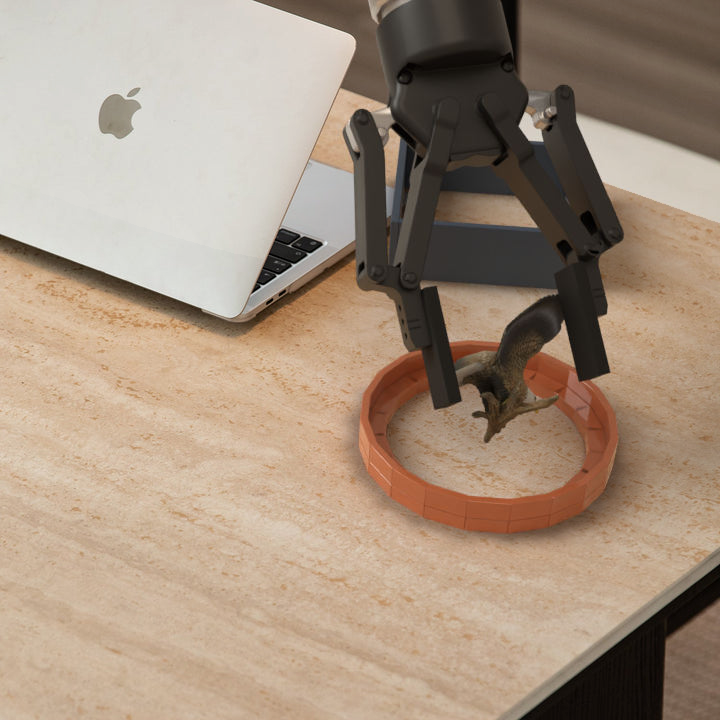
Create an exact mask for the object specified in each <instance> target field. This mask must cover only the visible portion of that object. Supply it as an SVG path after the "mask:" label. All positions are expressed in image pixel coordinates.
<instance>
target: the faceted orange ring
mask: <svg viewBox="0 0 720 720" xmlns="http://www.w3.org/2000/svg"><path fill="white" fill-rule="evenodd" d="M500 343H501V341H489V340H488V341H487V340H475V339H474V340H473V339H470V340H469V339H468V340H467V339H466V340H458V341H449V344H450V348H451V353H452V357H453V362H454V364H455V362H456V361H457V360H458V359H460V358H463V357H465V356H468V355H471V354H475V353H478V352H481V351H496V352H497V350H498V348H499V345H500ZM523 376H524V381H525V384H526V385H527V387H528V388H529V389H530V390H531V391H532V392H533V394H534V395H535V396H536V397H538V398H540V399H544V398H549V397H552V396H554V395H558V396H559V399H558V400H557V401H556V402H555V403H554V404H553V406H555V407H556V408H557V409H558V410H559V411H560V412H562V413H563V414H564V415H565V416H566V417H567V418H568V419H570V420H571V421H572V422H573V424H574V426H575V428H576V429H577V431H578V432H579V434H580V436H581V437H582V440H583V442H584V449H585V458H584V460H583V464H582V466H581V468H580V469H579V471H578V472H577V473H575V475H573V476H572V477H571V478H570V479H569V480H568V481H567V482H566V483H565V484H564V485H562V486H560V487H558V488H555V489H554V490H551V491H548V492H546V493H540V494H533V495H526V496H520V497H514V498H513V497H512V498H506V497H494V496H493V497H492V496H479V495H469V494H465V493H461V492H459V491H455V490H452V489H449V488H445V487H442V486H438V485H434V484H433V483H429V482H427V481H426V480H424V479H423V478H422V477H419V476H418V475H416V474H414V473H412V472H410V471H409V470H408V469H406V468H405V466H403V464H402V463H401V462H400V461H399V460H398V459H397V458H396V457H395V456H394V453H393V451H392V449H391V446H390V443H389V441H388V438H387V429H388V428H387V427H388V425H389V424H390V422H391V420H392V418H393V417H394V416H395V413H396V412H397V410H398V409H399V408H400V407H402V406H403V405H404V404H406V403H407V402H408V401H410V400H411V399H413V397H415V396H418V395H419V394H421V393H424V392H427V391H430V388H429V383H428V379H427V374H426V370H425V365H424V360H423V356H422V351H421V350H420V351H414V352H406V353H404V354H402V355H400V356H399V357H397V358H396V359H395V360H393V361H392V362H390V363H389V364H387V365H385V366H384V367H383V368H382V369H380V370H378V371H377V372H376V374H375V375H374V376H373V379H372V380H371V381H370V383H369V384H368V386H367V387H366V389H365V390H364V392H363V393H362V398H361V408H360V415H359V433H358V449H359V451H360V454H361V457H362V460H363V462H364V465H365V468H366V470H367V473H368V475H369V476H370V477H371V478H372V479H373V480H374V482H375V483H376V484H377V485H378V486H379V487H380V488H381V489H382V490H383V491H384V493H385V494H386V495H387V496H388V497H389V498H390V499H391V500H393V501H395V502H397V503H399V504H400V505H401V506H403V507H405V508H406V509H408V510H409V511H412V512H413V513H414V514H416V515H419V516H420V517H421V518H424V519H427V520H430V521H433V522H437V523H440V524H443V525H446V526H449V527H453V528H455V529H459V530H463V531H469V532H484V533H495V534H496V533H497V534H515V533H521V532H526V531H528V532H529V531H533V530H540V529H547V528H550V527H552V526H554V525H557V524H559V523H561V522H564V521H566V520H569V519H570V518H573V517H575V516H577V515H579V514H582V513H583V512H584V511H585V510H586V509H587V508H588V507H589V506H590V505H591V504H592V503H593V502H595V500H596V499H598V498H599V497H600V496H601V495H602V494H603V493H604V491H605V489H606V486H607V484H608V481H609V478H610V475H611V473H612V470H613V468H614V464H615V459H616V454H617V449H618V444H619V439H620V437H619V429H618V424H617V415H616V411H615V410H614V408H613V407H612V405H611V403H610V402H609V400H608V399H607V397H606V395H605V393H603V391H602V389H601V388H600V387H599V386H598V385H597V384H595V383H594V382H593V381H592V380H587V381H582V382H579V381H578V377H577V372H576V368H575V366H572V365H571V364H568V363H566V362H565V361H562V360H560V359H558V358H556V357H554V356H552V355H550V354H548V353H547V352H544V351H542V350H540V351H539V353H537V354H536V355H534V356H533V357H532V358H531V359H530V360H529V361H528V362H527V365H526V366H525V369H524V372H523Z"/></svg>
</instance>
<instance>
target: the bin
mask: <svg viewBox="0 0 720 720" xmlns="http://www.w3.org/2000/svg"><path fill="white" fill-rule="evenodd" d="M399 138H400V137H399ZM529 142H530V143H531V144H532V146H533V148H534V155H535V157H536V159H537V160H538V162H539V163H540V164H541V166H542V167H543V169H544V170H545V171H546V173H547V174H548V176H549V177H550V178H551V180H552V181H553V183H554V184H555V185H556V187H557V188H558V190H559V191H560V192H561V194H562V195H563V197H564V198H565V200H566V201H567V202H568V204H569V201H568V199H567V197H566V194H565V192H564V190H563V187H562V185H561V183H560V180H559V178H558V176H557V173H556V171H555V169H554V166H553V164H552V162H551V159H550V157H549V155H548V152H547V150H546V147H545V144H544V141H542V140H541V141H539V140H529ZM398 145H399V146H398V155H397V163H396V172H395V180H394V181H395V183H394V188H393V189H394V190H393V197H392V207H391V216H390V226H389V227H390V228H389V242H388V243H389V244H388V245H389V246H388V265H390V266H393V264H394V259H395V254H396V250H397V245H398V240H399V236H400V231H401V226H402V222H403V211H404V202H405V201H404V200H405V191H406V189H407V190H409V189H410V176H411V171H412V166H413V162H414V157H415V151H414V150H413V149H412V148H411V147H410V146H409V145H408V144H407V143H406V142H405V141H404V140H402V139H401V138H400V140H399V144H398ZM507 153H508V151H507ZM508 154H509V153H508ZM440 192H452V193H465V194H466V193H469V194H482V195H494V196H495V195H497V196H511V197H516V196H515V194H514V193H513V191H512V190H511V189H510V187H509V186H508V184H507V183H506V182H505V180H503V179H501V178H499V177H497V175H496V174H495V173H494V172H493V170H492V169H491V167H490V166H482V167H473V166H462V167H460V168H457V169H455V170H453V171H446V172H445V174H444V176H443V179H442V184H441V189H440ZM569 205H570V204H569ZM570 207H571V206H570ZM565 267H567V266H566V265H565V264H564V263H563V262H562V260H561V259H560V257H559V256H558V255H557V253H556V252H555V250H554V249H553V248H552V246H551V245H550V243H549V242H548V241H547V239H546V238H545V236H544V235H543V233H542V232H541V231H540V229H539V228H538V227H533V226H520V225H519V226H517V225H503V224H490V223H477V222H474V223H473V222H460V221H445V220H434V222H433V227H432V232H431V237H430V241H429V246H428V251H427V256H426V261H425V265H424V270H423V275H422V280H421V281H430V282H442V283H443V282H445V283H458V284H473V285H486V286H500V287H501V286H502V287H514V288H529V289H541V290H542V289H544V290H557V286H556V282H555V278H554V274H555V273H556V272H558V271H560V270H562V269H563V268H565Z"/></svg>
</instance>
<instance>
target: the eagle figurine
mask: <svg viewBox="0 0 720 720" xmlns="http://www.w3.org/2000/svg"><path fill="white" fill-rule="evenodd" d="M564 322H565V321H564V316H563V312H562V308H561V304H560V299H559V295H558V293H556V294H554V293H553V294H548V295H546V296H543V297H540V298H539V299H537V300H536V301H535V302H533V303H532V304H531V305H529V306H528V307H527V308H525V309H524V310H523V311H522V312H520V313H519V314H518V315H516V316H515V317H514V318H513V319H512V320H511V321H510V322H509V323H508V324H507V325H506V326H505V328H504V330H503V331H502V332H503V333H502V336H501V339H500V342H501V343H500V345H499V348H498V350H497V352H496V351H481V352H478V353H475V354H471V355H468V356H465V357H463V358H460V359H458V360H457V361H456V362H455V364H454V366H455V371H456V375H457V380H458V385H459V388H461V387H464V386H466V385H473V386H474V387H475V388H476V390H478V393H479V398H480V399H481V402H482V405H483V408H484V411H483V410H477V411H473V412H472V413H471V417H472V418H474V419H481V418H483V419H485V420H487V427H486V431H485V434H484V436H483V443H484V444H489V443H490V441H491V440H492V438H494V437H495V435H496V434H500V433H501V432H502V429H505V428H506V426H507V424H508V423H510V422H511V421H512V420H515V419H516V418H517V417H518V416H523V415H524V414H527V413H531V412H534V413H535V414H538V413H539V410H543V409H547V408H550V407H552V406H553V405H554V403H555V402H556V401H557V400H558V399H559V396H558V395H554V396H552V397H549V398H544V399H542V398H540V399H538V398H537V396H536V395H534V394H533V392H532V391H531V390H530V389H529V388H528V387H527V385H526V384H525V381H524V376H523V372H524V369H525V366H526V365H527V362H528V361H529V360H530V359H531V358H532V357H533V356H534V355H536V354H537V353H539V351H542V349H543V347H544V346H545V345H546V344H548V343H550V342H551V341H553V340H554V339H555V338H556V337H557V336H558V335H559V333H560V332H561V330H562V324H563V323H564Z"/></svg>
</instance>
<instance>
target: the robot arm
mask: <svg viewBox="0 0 720 720" xmlns="http://www.w3.org/2000/svg"><path fill="white" fill-rule="evenodd" d="M367 2H368V6H369V11H370V15H371V18H372V20H373V21H374V22H375V23H376V24H377V25H378V26H377V28H376V29H375V40H376V44H377V49H378V53H379V58H380V62H381V68H382V72H383V76H384V80H385V81H384V82H385V85H386V87H387V91H388V100H387V104H386V107H384V108H383V107H382V108H379V109H375V110H374V111H370V110H368V109H366V108H358V109H356V110H355V111H354V112H353V113H352V115H351V116H350V118H349V119H348V121H347V122H346V124H345V125H344V127H343V129H342V137H343V140H344V142H345V145H346V148H347V151H348V153H349V156H350V158H351V161H352V163H353V201H354V240H355V241H354V242H355V244H354V245H355V247H354V248H355V280H356V281H355V282H356V285H357V287H358V289H359V290H361V291H363V292H371V291H373V292H379V293H384V294H385V295H386V296H387V297H388V299H390V300H392V301H393V302H394V306H395V310H396V315H397V319H398V324H399V327H400V329H399V330H400V334H401V339H402V343H403V346H404V347H405V349H406V350H407V351H408V352H407V353H410V352H414V351H420V350H421V351H422V356H423V360H424V365H425V370H426V374H427V379H428V383H429V388H430V390H429V392H430V396H431V401H432V406H433V410H434V411H436V410H441V409H442V410H443V409H447V408H449V407H451V406H455V405H457V404H460V403H461V402H463V399H462V394H461V389H460V387H459V385H458V380H457V375H456V371H455V366H454V362H453V357H452V353H451V348H450V344H449V342H450V339H449V335H448V330H447V326H446V322H445V317H444V312H443V309H442V304H441V300H440V299H441V298H440V295H439V290H438V285H431V286H426V287H423V288H422V287H421V283H422V281H423V280H422V275H423V270H424V265H425V261H426V256H427V251H428V246H429V241H430V237H431V232H432V227H433V222H434V221H435V217H436V212H437V208H438V202H439V198H440V193H441V191H440V189H441V184H442V179H443V176H444V174H445V172H446V171H453V170H455V169H457V168H460V167H462V166H473V167H482V166H490V167H491V169H492V170H493V172H494V173H495V174H496V175H497V177H499V178H501V179H503V180H505V182H506V183H507V184H508V186H509V187H510V189H511V190H512V191H513V193H514V194H515V196H514V197H516V198H517V200H518V201H519V203H520V204H521V206H522V208H524V210H525V211H526V212H527V214H528V216H529V217H530V218H531V220H532V221H533V223H534V224H535V225H536V227H537V228H539V229H540V231H541V232H542V233H543V235H544V236H545V238H546V239H547V241H548V242H549V243H550V245H551V246H552V248H553V249H554V250H555V252H556V253H557V255H558V256H559V257H560V259H561V260H562V262H563V263H564V264H565V265H566V266H567V267H565V268H563V269H562V270H560V271H558V272H556V273H555V274H554V278H555V282H556V286H557V294H558V295H559V299H560V304H561V308H562V312H563V316H564V321H563V322H564V325H565V329H566V333H567V337H568V342H569V347H570V351H571V355H572V359H573V363H574V368H576V372H577V377H578V381H579V382H582V381H587V380H590V381H592V380H594V379H597V378H599V377H602V376H605V375H608V374H611V368H610V364H609V359H608V355H607V352H606V348H605V343H604V338H603V333H602V330H601V325H600V322H599V319H600V318H601V317H604V316H607V315H608V310H609V309H608V307H609V304H608V303H609V302H608V299H607V296H606V291H605V289H604V283H603V278H602V274H601V270H600V266H599V265H600V264H599V260H600V258H601V256H602V255H603V254H604V253H605V252H607V251H608V250H610V249H611V248H613V247H615V246H616V245H618V244H620V243H621V242H623V240H624V238H625V232H624V229H623V226H622V224H621V222H620V219H619V217H618V215H617V212H616V210H615V208H614V205H613V204H612V200H611V199H610V196H609V194H608V192H607V189H606V187H605V185H604V182H603V180H602V178H601V175H600V172H599V171H598V169H597V166H596V164H595V162H594V161H595V160H594V159H593V156H592V154H591V152H590V150H589V148H588V147H589V146H588V145H587V143H586V140H585V138H584V136H583V134H582V131H581V128H580V126H579V124H578V122H577V121H578V120H577V109H576V97H575V92H574V90H573V89H572V87H571V86H569V84H559V85H558V86H557V87H556V88H555V89H553V90H535V89H534V90H532V89H530V90H529V89H528V88H527V86H526V85H525V83H524V82H523V81H522V80H521V79H520V77H519V76H518V74H517V71H516V68H515V61H514V51H513V46H512V41H511V38H510V34H509V33H510V32H509V29H508V25H507V21H506V16H505V12H504V8H503V3H502V1H501V0H367ZM525 113H526V114H528V116H530V118H531V119H532V124H533V127H534V128H535V129H536V130H540V131H541V138H542V142H544V144H545V147H546V150H547V152H548V155H549V157H550V159H551V162H552V164H553V166H554V169H555V171H556V173H557V176H558V178H559V180H560V183H561V185H562V187H563V190H564V192H565V194H566V197H567V199H568V201H569V204H570V205H569V204H568V202H567V201H566V200H565V198H564V197H563V195H562V194H561V192H560V191H559V190H558V188H557V187H556V185H555V184H554V183H553V181H552V180H551V178H550V177H549V176H548V174H547V173H546V171H545V170H544V169H543V167H542V166H541V164H540V163H539V162H538V160H537V159H536V157H535V155H534V148H533V146H532V144H531V143H530V142H529V141H530V140H529V139H528V137H527V136H526V134H525V133H524V131H523V130H522V128H521V127H520V125H521V122H522V119H523V117H524V115H525ZM389 130H392V131H393V132H394V133H395V134H396V135H397V136H398V137H399V138H401V139H402V140H404V141H405V142H406V143H407V144H408V145H409V146H410V147H411V148H412V149H413V150H414V151H415V157H414V162H413V166H412V171H411V176H410V189H408V194H407V197H406V198H407V199H406V203H405V208H404V213H403V216H402V218H403V222H402V226H401V231H400V236H399V240H398V245H397V250H396V254H395V259H394V264H393V266H390V265H388V261H389V246H388V245H389V244H388V217H387V215H388V213H387V212H388V211H387V210H388V209H387V180H386V179H387V177H386V175H387V174H386V156H385V154H386V153H385V146H386V145H387V144H388V142H389V140H390V133H389V132H390V131H389ZM507 151H508V153H509V154H508V153H507ZM570 206H571V207H570Z"/></svg>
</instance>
